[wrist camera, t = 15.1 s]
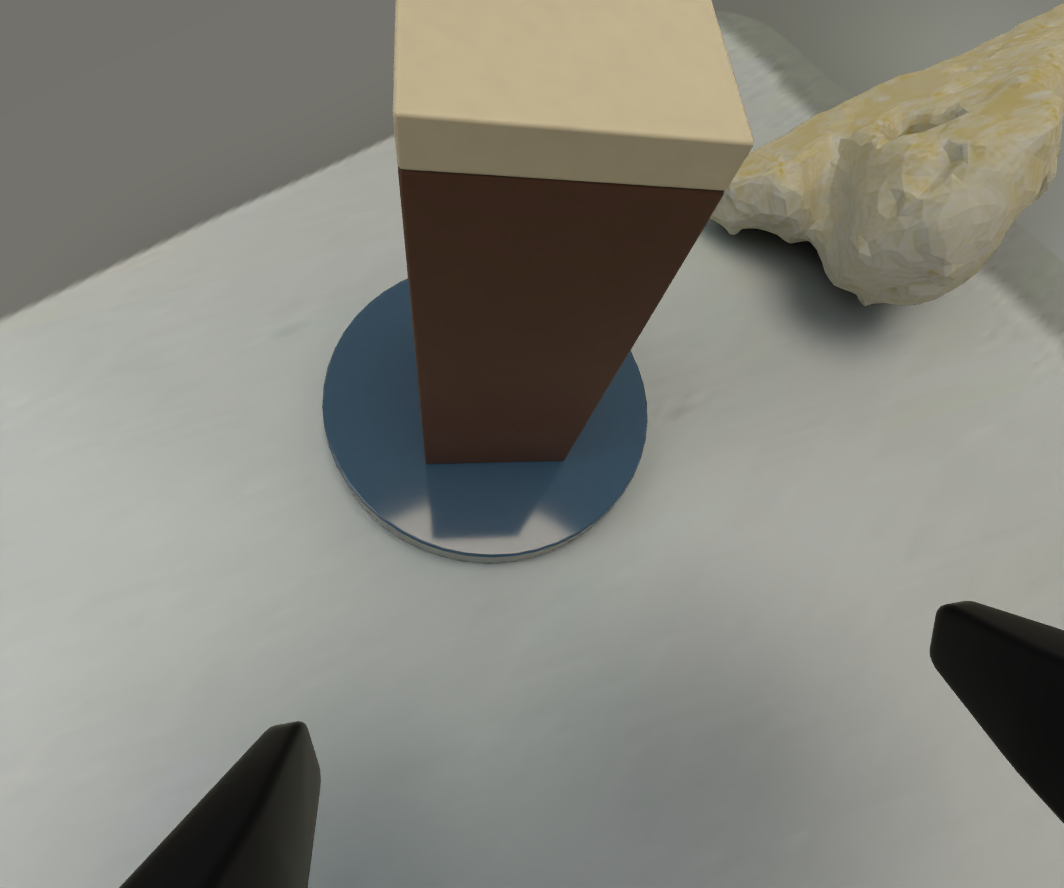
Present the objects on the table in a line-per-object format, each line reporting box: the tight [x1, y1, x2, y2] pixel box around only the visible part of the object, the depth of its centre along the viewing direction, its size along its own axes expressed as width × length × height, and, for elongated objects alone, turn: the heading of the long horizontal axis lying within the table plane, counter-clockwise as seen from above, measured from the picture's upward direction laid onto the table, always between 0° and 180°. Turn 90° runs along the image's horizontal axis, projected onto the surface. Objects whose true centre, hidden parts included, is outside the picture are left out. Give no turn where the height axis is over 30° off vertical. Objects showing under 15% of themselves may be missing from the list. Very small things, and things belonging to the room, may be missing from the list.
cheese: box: [710, 3, 1064, 306], centre depth 23 cm, size 15×7×15 cm
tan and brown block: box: [393, 0, 754, 464], centre depth 13 cm, size 5×4×12 cm
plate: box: [322, 279, 647, 563], centre depth 19 cm, size 11×11×1 cm
